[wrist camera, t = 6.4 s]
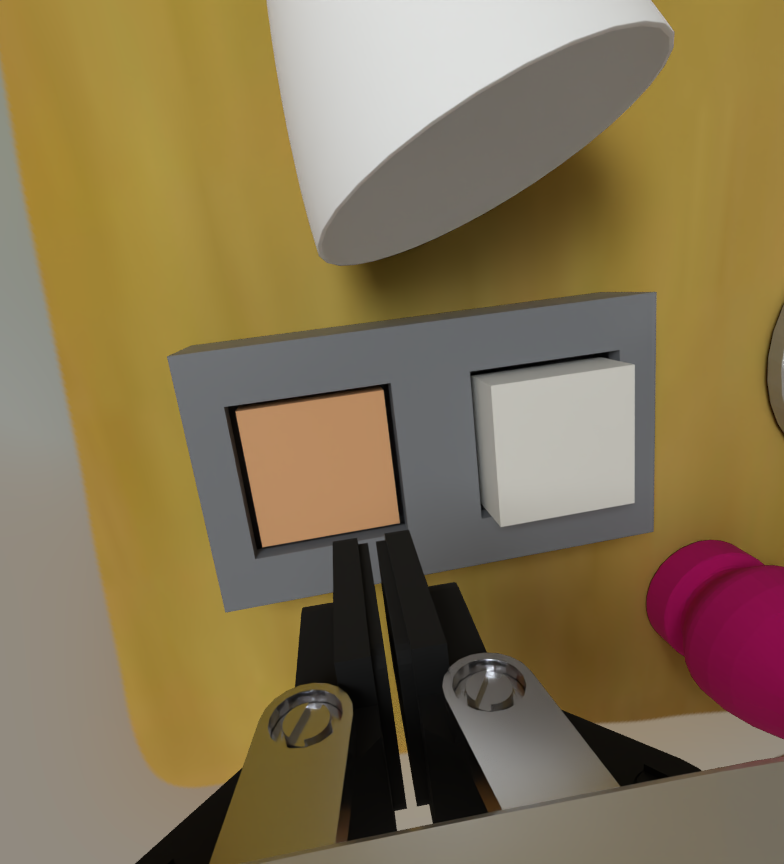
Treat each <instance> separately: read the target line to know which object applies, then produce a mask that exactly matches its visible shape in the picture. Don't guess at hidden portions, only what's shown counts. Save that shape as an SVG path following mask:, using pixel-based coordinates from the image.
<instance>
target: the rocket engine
mask: <svg viewBox="0 0 784 864" xmlns="http://www.w3.org/2000/svg"><path fill="white" fill-rule="evenodd" d="M267 7H268V15H269V22H270V30H271V37H272V44H273V50H274V57H275V63H276V70H277V75H278V81H279V87H280V93H281V99H282V104H283V109H284V114H285V120H286V125H287V130H288V135H289V139H290V144H291V149H292V153H293V158H294V163H295V167H296V172H297V176H298V180H299V185H300V189H301V193H302V197H303V201H304V205H305V209H306V213H307V217H308V220H309V224H310V227H311V231H312V234H313V238H314V241H315V244H316V248H317V251H318V254H319V256H320V257H321V258H322V259H323V260H324V261H326V262H327V263H330V264H335V265H339V266H341V265H357V264H362V263H368V262H373V261H376V260H380V259H383V258H386V257H390V256H393V255H396V254H399V253H401V252H404V251H407V250H409V249H412V248H415V247H417V246H419V245H422V244H424V243H426V242H429V241H431V240H433V239H435V238H438V237H440V236H442V235H444V234H446V233H448V232H450V231H452V230H454V229H456V228H458V227H460V226H462V225H464V224H466V223H468V222H469V221H471V220H473V219H475V218H477V217H479V216H481V215H482V214H484V213H486V212H488V211H489V210H491V209H493V208H495V207H496V206H498V205H500V204H501V203H503V202H505V201H506V200H508V199H510V198H511V197H513V196H515V195H516V194H518V193H519V192H521V191H522V190H524V189H525V188H527V187H529V186H530V185H532V184H533V183H535V182H536V181H538V180H539V179H541V178H542V177H544V176H545V175H546V174H548V173H549V172H551V171H552V170H554V169H555V168H556V167H558V166H559V165H561V164H562V163H563V162H565V161H566V160H567V159H569V158H570V157H571V156H573V155H574V154H575V153H577V152H578V151H579V150H581V149H582V148H583V147H585V146H586V145H587V144H588V143H589V142H591V141H592V140H593V139H594V138H596V137H597V136H598V135H599V134H600V133H602V132H603V131H604V130H605V129H606V128H608V127H609V126H610V125H611V124H612V123H613V122H614V121H615V120H616V119H617V118H618V117H620V116H621V115H622V114H623V113H624V112H625V111H626V110H627V109H628V108H629V107H630V106H631V105H632V104H633V103H634V102H635V101H636V100H637V99H638V98H639V97H640V96H641V95H642V93H643V92H644V91H645V90H646V89H647V88H648V87H649V86H650V85H651V83H652V82H653V81H654V79H655V78H656V77H657V75H658V74H659V73H660V71H661V70H662V69H663V67H664V66H665V64H666V62H667V60H668V58H669V56H670V53H671V51H672V49H673V46H674V31H673V29H672V28H671V26H670V25H669V24H668V22H667V21H666V20H665V18H664V17H663V16H662V14H661V13H660V12H659V10H658V9H657V8H656V6H655V5H654V4H653V2H652V1H651V0H267Z"/></svg>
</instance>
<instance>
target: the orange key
mask: <svg viewBox="0 0 784 864" xmlns="http://www.w3.org/2000/svg"><path fill="white" fill-rule="evenodd" d="M236 417H237V422H238V427H239V432H240V437H241V442H242V447H243V452H244V457H245V462H246V467H247V472H248V477H249V482H250V487H251V492H252V497H253V502H254V507H255V512H256V517H257V522H258V527H259V532H260V537H261V542H262V547H267V546H273V545H278V544H284V543H290V542H296V541H301V540H307V539H313V538H318V537H324V536H330V535H335V534H341V533H347V532H352V531H358V530H364V529H369V528H375V527H381V526H386V525H392V524H398V523H400V520H399V512H398V504H397V496H396V488H395V480H394V472H393V464H392V456H391V448H390V440H389V432H388V423H387V415H386V407H385V399H384V391H383V389H382V388H381V387H380V385H374V386H367V387H360V388H353V389H346V390H339V391H332V392H325V393H318V394H311V395H304V396H297V397H291V398H284V399H277V400H270V401H263V402H256V403H249V404H242V405H239V407H238V408H237V410H236Z"/></svg>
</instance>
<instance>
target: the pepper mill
mask: <svg viewBox="0 0 784 864" xmlns="http://www.w3.org/2000/svg"><path fill="white" fill-rule="evenodd" d="M647 614H648V617H649V620H650V623H651V625H652V626H653V628H654V629H655V631H656V632H657V633H658V634H659V635H660V636H661V637H662V638H663V639H664V640H665V641H667V642H668V643H669V644H670V645H671V646H672V647H673V648H674V649H675V650H676V651H677V652H678V653H680V654H681V655H683V656H685V662H686V664H687V667H688V669H689V671H690V674H691V676H692V678H693V679H694V681H695V682H696V683H697V685H698V686H699V687H700V689H702V690H703V691H704V692H705V693H706V694H707V695H708V696H709V697H711V698H712V699H713V700H714V701H715V702H716V703H718V704H719V705H720V706H721V707H722V708H724V709H725V710H726V711H728V712H730V713H731V714H733V715H735V716H736V717H738V718H740V719H741V720H743V721H745V722H747V723H748V724H750V725H752V726H753V727H756V728H758V729H761V730H763V731H765V732H767V733H770V734H772V735H774V736H777V737H779V738H782V739H784V567H780V566H775V565H764V564H763V563H762V562H760V561H759V560H758V559H756V558H754V557H752V556H751V555H749V554H747V553H746V552H744V551H742V550H741V549H739V548H737V547H736V546H734V545H732V544H730V543H727V542H724V541H718V540H706V541H698V542H695V543H693V544H690V545H688V546H685V547H683V548H681V549H679V550H678V551H677V552H675V553H674V554H672V555H671V556H670V557H669V558H668V559H667V560H666V561H665V562H664V563H663V564H662V565H661V566H660V567H659V569H658V571H657V572H656V574H655V576H654V577H653V579H652V581H651V583H650V586H649V590H648V594H647Z"/></svg>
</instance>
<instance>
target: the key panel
mask: <svg viewBox="0 0 784 864" xmlns="http://www.w3.org/2000/svg"><path fill="white" fill-rule="evenodd" d="M597 357H602V358H607V359H611V360H616V361H621V362H625V363H630V364H635V503H631V504H626V505H620V506H615V507H609V508H604V509H598V510H593V511H587V512H582V513H576V514H571V515H565V516H560V517H554V518H549V519H543V520H538V521H532V522H527V523H521V524H515V525H510V526H504V527H500V526H499V524H498V523H497V522H496V521H495V520H494V518H493V517H492V516H491V515H490V514H489V513H488V511H487V510H486V509H485V508H484V507H483V505H482V504H481V499H480V487H479V474H478V462H477V449H476V437H475V424H474V411H473V399H472V386H471V376H473V375H480V374H487V373H494V372H500V371H507V370H514V369H521V368H528V367H535V366H542V365H549V364H555V363H562V362H569V361H576V360H583V359H590V358H597ZM167 358H168V362H169V367H170V371H171V376H172V380H173V384H174V389H175V393H176V397H177V402H178V406H179V411H180V415H181V419H182V424H183V428H184V433H185V437H186V441H187V446H188V450H189V454H190V459H191V463H192V468H193V472H194V476H195V481H196V485H197V489H198V494H199V498H200V503H201V507H202V511H203V516H204V520H205V525H206V529H207V533H208V538H209V542H210V546H211V551H212V555H213V560H214V564H215V568H216V573H217V577H218V582H219V586H220V590H221V595H222V599H223V603H224V608H225V612H231V611H236V610H241V609H247V608H252V607H257V606H263V605H268V604H273V603H278V602H284V601H289V600H294V599H300V598H305V597H310V596H315V595H321V594H326V593H331V592H333V541H339V540H346V539H352V538H357V539H358V544H363V543H368V547H369V553H370V560H371V566H372V573H373V579H374V584H379V583H381V576H380V569H379V562H378V555H377V547H376V541H382V540H385V535H384V533H390V532H396V531H403V530H409V531H410V534H411V537H412V540H413V543H414V546H415V549H416V552H417V555H418V558H419V561H420V564H421V567H422V570H423V573H424V575H427V574H432V573H437V572H442V571H448V570H453V569H458V568H464V567H469V566H474V565H479V564H485V563H490V562H495V561H501V560H506V559H511V558H516V557H522V556H527V555H532V554H538V553H543V552H548V551H554V550H559V549H564V548H569V547H575V546H580V545H585V544H591V543H596V542H601V541H606V540H612V539H617V538H622V537H628V536H633V535H638V534H643V533H649V532H653V530H654V447H655V365H656V292H599V293H591V294H584V295H576V296H568V297H561V298H553V299H545V300H538V301H530V302H522V303H515V304H507V305H499V306H492V307H484V308H476V309H469V310H461V311H453V312H446V313H438V314H430V315H423V316H415V317H407V318H400V319H392V320H384V321H377V322H369V323H361V324H354V325H346V326H338V327H331V328H323V329H315V330H308V331H300V332H292V333H285V334H277V335H269V336H261V337H254V338H246V339H238V340H231V341H223V342H215V343H208V344H200V345H192V346H189V347H187V348H185V349H183V350H180V351H178V352H176V353H174V354H172V355H169V356H167ZM374 385H380V387H381V388H382V389H383V391H384V399H385V407H386V415H387V423H388V432H389V440H390V448H391V456H392V464H393V472H394V480H395V488H396V496H397V504H398V512H399V520H400V523H398V524H392V525H386V526H381V527H375V528H369V529H364V530H358V531H352V532H347V533H341V534H335V535H330V536H324V537H318V538H313V539H307V540H301V541H296V542H290V543H284V544H278V545H273V546H267V547H262V542H261V537H260V532H259V527H258V522H257V517H256V512H255V507H254V502H253V497H252V492H251V487H250V482H249V477H248V472H247V467H246V462H245V457H244V452H243V447H242V442H241V437H240V432H239V427H238V422H237V417H236V410H237V408H238V407H239V405H242V404H249V403H256V402H263V401H270V400H277V399H284V398H291V397H297V396H304V395H311V394H318V393H325V392H332V391H339V390H346V389H353V388H360V387H367V386H374Z"/></svg>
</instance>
